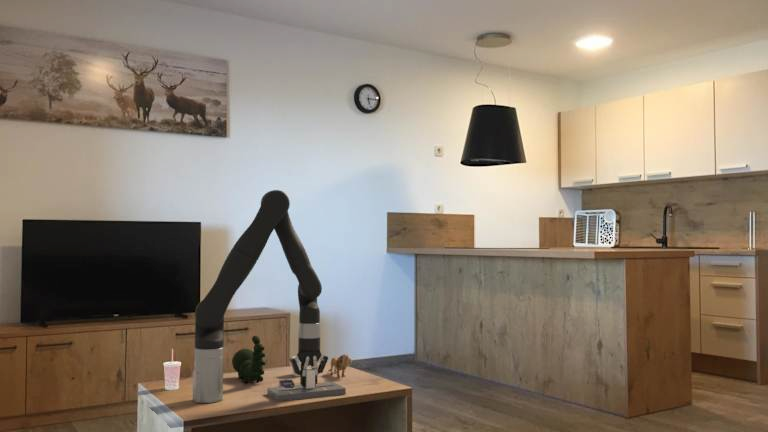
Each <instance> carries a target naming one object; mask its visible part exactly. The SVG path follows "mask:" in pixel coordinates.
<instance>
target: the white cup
mask: <svg viewBox="0 0 768 432" xmlns="http://www.w3.org/2000/svg"><path fill="white" fill-rule="evenodd" d="M296 356H297V355H293V356H291V358H294V357H296ZM297 365H298V367H299V370H300V371H301V362H300V360H299V359H298V363H297ZM291 366H292V365H291ZM307 368H309V366H308V367H307ZM292 376H294V377H300V375H298V374H296V373H295V371H294V369H293V366H292Z"/></svg>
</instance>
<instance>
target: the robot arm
mask: <svg viewBox="0 0 768 432" xmlns="http://www.w3.org/2000/svg"><path fill="white" fill-rule="evenodd" d="M290 204H291V202H290V198H289V196H288V195H287V193H286V192H284V191H283V190H279V189H275V190H274V189H273V190H270V191H267V192H266V193H265V194H264V195H263V196H262V197H261V200H260V207H259V209H258V211H257V213H256V215H255V217H254V218H253V221H251V224H250V225H249V226H248V227H246V229H245V231H244V232H242V234H241V235H240V237H239V238H238V239H237V241H236V242H235V244H234V245H233V246H232V248H231V249H230V251H229V253H228V255H227V256H226V259H225V260H224V262H223V264H222V266H221V269H220V270H219V273H218V275H217V278H216V280H215V282H214V284H213V285H212V287H211V288H210V290H209V291H208V292H207V294H206V295H205V296H204V298H203V299H202V300H201V301H199V302H198V304H197V306H196V307H195V311H194V317H195V320H194V321H195V325H194V326H195V331H194V332H195V333H194V370H192V400H193V401H194V402H195V403H196V404H200V403H201V404H202V403H203V404H209V403H217V402H221V401H222V400H223V399H224V341H225V339H224V338H225V337H224V335H225V333H224V332H225V331H224V330H225V329H224V328H225V326H224V325H225V321H224V320H225V313H226V312H227V310H228V307H229V305H230V303H231V301H232V299H233V298H234V295H235V294H236V293H237V291H239V289H240V287H241V286H242V284H243V283H244V282H245V280H247V277H248V276H249V275H250V273H251V272H252V271H253V268H254V267H255V266H256V264H257V262H258V261H259V258H260V257H261V255H262V253H263V251H264V250H265V247H266V245H267V243H268V241H269V238H270V237H271V234H272V233H273V231H275V234H276V236H277V238H278V240H279V243H280V245H281V249H282V251H283V253H284V256H285V258H286V261H287V263H288V265H289V268H290V271H291V272H292V274H293V275H294V276H295V277H296V279H297V282H298V285H297V298H298V305H299V317H298V319H299V320H298V331H297V332H298V333H297V335H298V336H297V337H298V341H297V342H298V343H297V344H298V350H297V352H298V353H296V355H295V356H296V357H294V358H292V357H290V358H289V361H290V363H291V366H293V369H294V371H295V373H296V374H298V375H300V376H299V377H300V379H299V381H300V382H299V383H300V384H299V385H302V387H306V376H305V375H306V370H307V367H308V368H309V366H310V367H311V368H312V369H314V370H315V386H316V384H317V383H318V375H320V374H323V372H324V370H325V368H326V364H327V363H328V360H329V356H327V355H326V354H325V355H324V354H322V352H321V325H320V323H321V317H320V316H321V315H320V314H321V311H320V308H319V304H318V297H320V295H321V294H322V291H323V287H322V283H321V281H320V278H319V277H318V275H317V273H316V271H315V270H314V267H313V266H312V264H311V261H310V258H309V256H308V253H307V251H306V249H305V247H304V245H303V243H302V241H301V239H300V237H299V236H298V234H297V232H296V230H295V228H294V226H293V224H292V221H291V218H290V213H289V209H290V206H291V205H290ZM298 359H299V360H300V362H301V371H300V370H299V367H298V365H297V363H298ZM319 360H320V362H319ZM318 362H319V363H318ZM318 364H319V365H318ZM293 369H292V370H293Z"/></svg>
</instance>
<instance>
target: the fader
mask: <svg viewBox="0 0 768 432" xmlns="http://www.w3.org/2000/svg"><path fill="white" fill-rule="evenodd" d="M305 376H306V387H305V388H306V389H309V388H315V370H314V369H312V368H310V367H308V368H307V370H306V375H305Z"/></svg>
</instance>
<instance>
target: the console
mask: <svg viewBox="0 0 768 432" xmlns="http://www.w3.org/2000/svg"><path fill="white" fill-rule="evenodd" d="M346 391H347V389H346V388H345V387H344V386H342V385H340V384H338V383H336V382H334V381H325V382H317V384H316V386H315V388H309V389H306V388H305V387H302V385H301V384H296V385H295V384H294V387H293V388H285V387H283V386H275V387H267V393H266V394H267V395H268V396H270V397H271V398H272V399H274V400H276V402H279V403H280V402H287V401H296V400H304V399H305V400H306V399H314V398H315V399H316V398H323V397H324V398H325V397H333V396H340V395H341V396H342V395H346V393H347V392H346Z"/></svg>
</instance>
